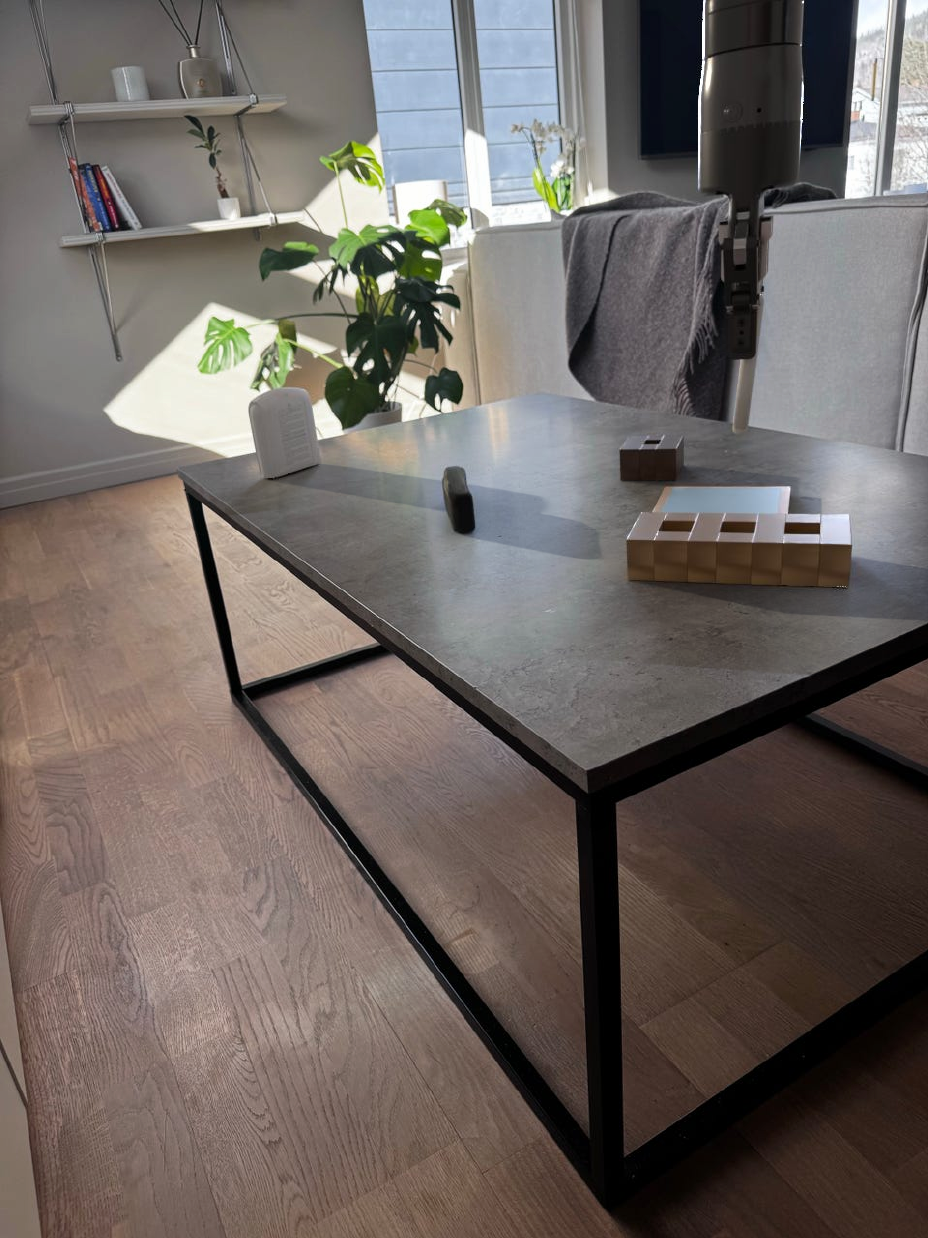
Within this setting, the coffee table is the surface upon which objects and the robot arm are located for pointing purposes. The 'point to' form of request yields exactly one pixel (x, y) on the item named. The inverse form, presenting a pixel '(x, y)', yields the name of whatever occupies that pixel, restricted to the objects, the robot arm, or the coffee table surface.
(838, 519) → the pen holder
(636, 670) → the coffee table surface
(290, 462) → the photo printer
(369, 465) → the coffee table surface
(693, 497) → the tablet
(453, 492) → the dark grey tall block
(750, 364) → the stylus
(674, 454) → the stand
